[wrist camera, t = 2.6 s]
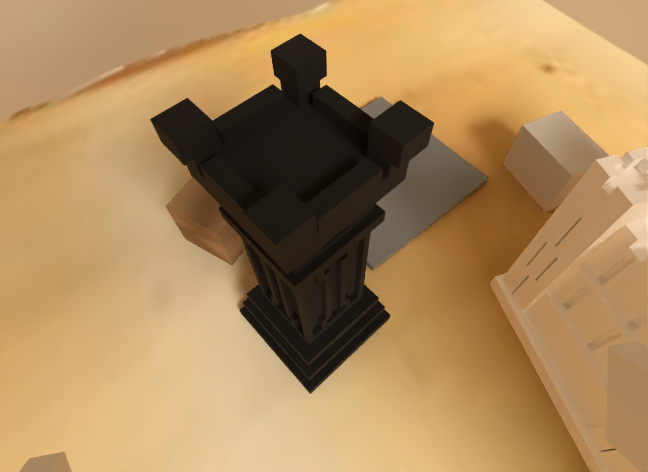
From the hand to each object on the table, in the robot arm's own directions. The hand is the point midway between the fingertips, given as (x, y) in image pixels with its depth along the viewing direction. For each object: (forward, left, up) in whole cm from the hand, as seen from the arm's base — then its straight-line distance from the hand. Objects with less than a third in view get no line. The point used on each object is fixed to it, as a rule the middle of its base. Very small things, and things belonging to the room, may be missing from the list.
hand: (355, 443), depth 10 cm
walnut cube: (-20, +4, -20) cm, 28 cm away
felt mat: (-16, +18, -19) cm, 31 cm away
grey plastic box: (-6, +29, -20) cm, 36 cm away
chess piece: (-9, +5, -20) cm, 22 cm away
